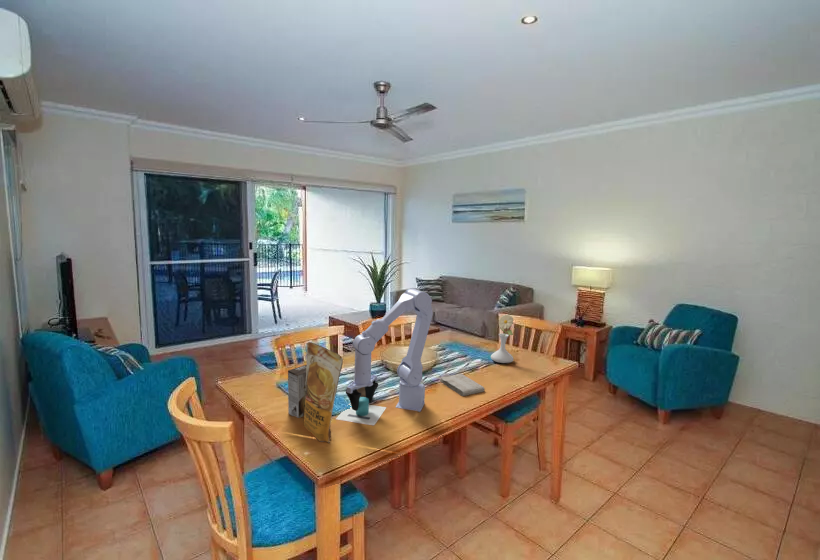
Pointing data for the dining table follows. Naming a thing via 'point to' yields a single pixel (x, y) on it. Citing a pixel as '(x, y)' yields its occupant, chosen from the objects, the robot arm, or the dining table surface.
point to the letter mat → (368, 419)
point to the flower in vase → (503, 341)
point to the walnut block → (362, 391)
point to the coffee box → (297, 391)
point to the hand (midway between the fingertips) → (362, 405)
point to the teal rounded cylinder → (363, 407)
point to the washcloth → (462, 384)
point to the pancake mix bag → (320, 389)
